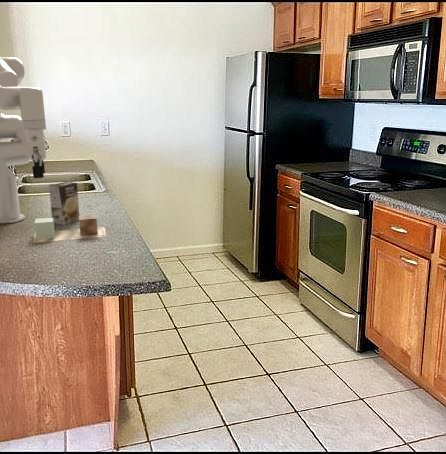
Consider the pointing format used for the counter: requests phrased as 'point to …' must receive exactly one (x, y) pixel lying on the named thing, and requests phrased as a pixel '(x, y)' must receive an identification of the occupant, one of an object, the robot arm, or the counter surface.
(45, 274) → the counter surface
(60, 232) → the board
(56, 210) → the coffee box
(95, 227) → the walnut block
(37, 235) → the sage block
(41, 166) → the robot arm
